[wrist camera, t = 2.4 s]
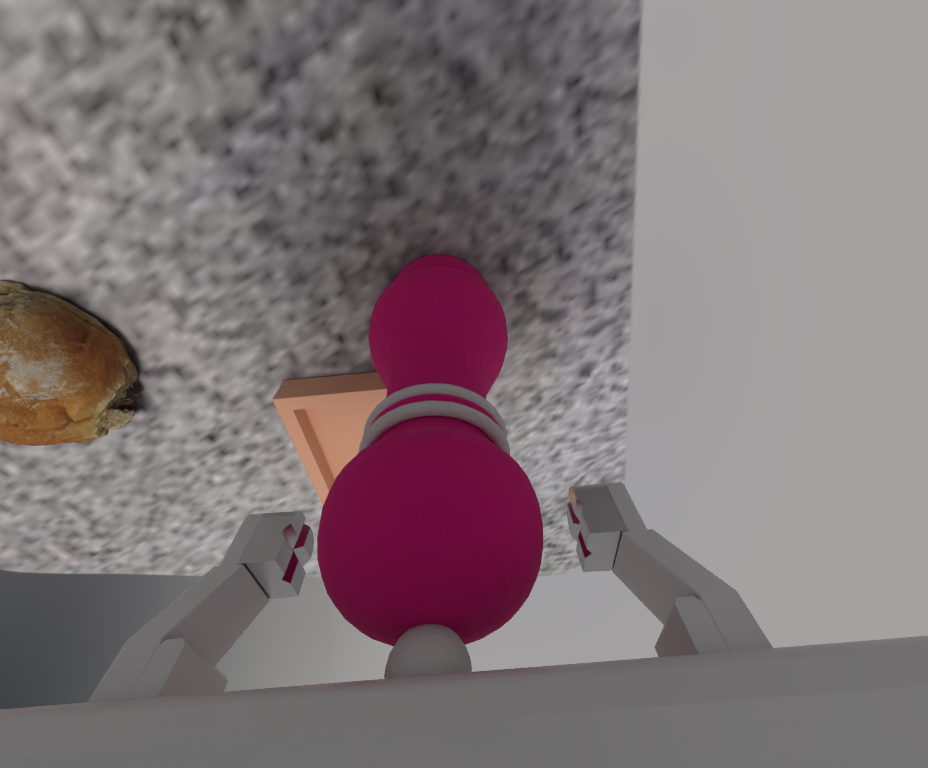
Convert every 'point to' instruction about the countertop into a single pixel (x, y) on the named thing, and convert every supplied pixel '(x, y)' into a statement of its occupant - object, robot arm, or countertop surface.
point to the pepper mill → (432, 481)
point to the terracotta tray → (328, 420)
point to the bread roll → (59, 371)
